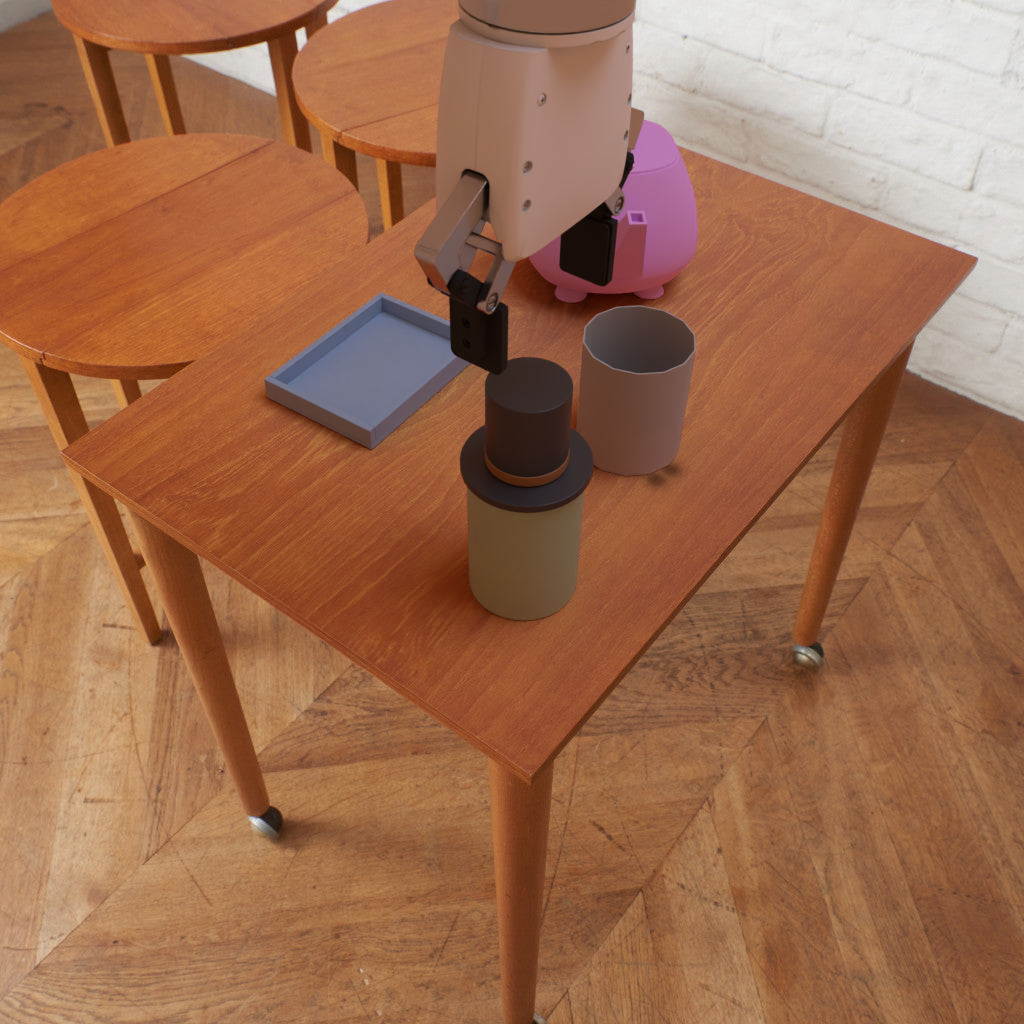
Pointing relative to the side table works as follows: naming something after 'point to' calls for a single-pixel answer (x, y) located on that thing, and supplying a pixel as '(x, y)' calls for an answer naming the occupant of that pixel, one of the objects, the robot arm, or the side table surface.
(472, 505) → the pedestal
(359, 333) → the tray
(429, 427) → the side table surface
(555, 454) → the hat
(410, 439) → the side table surface
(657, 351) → the cup
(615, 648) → the side table surface
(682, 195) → the teapot
